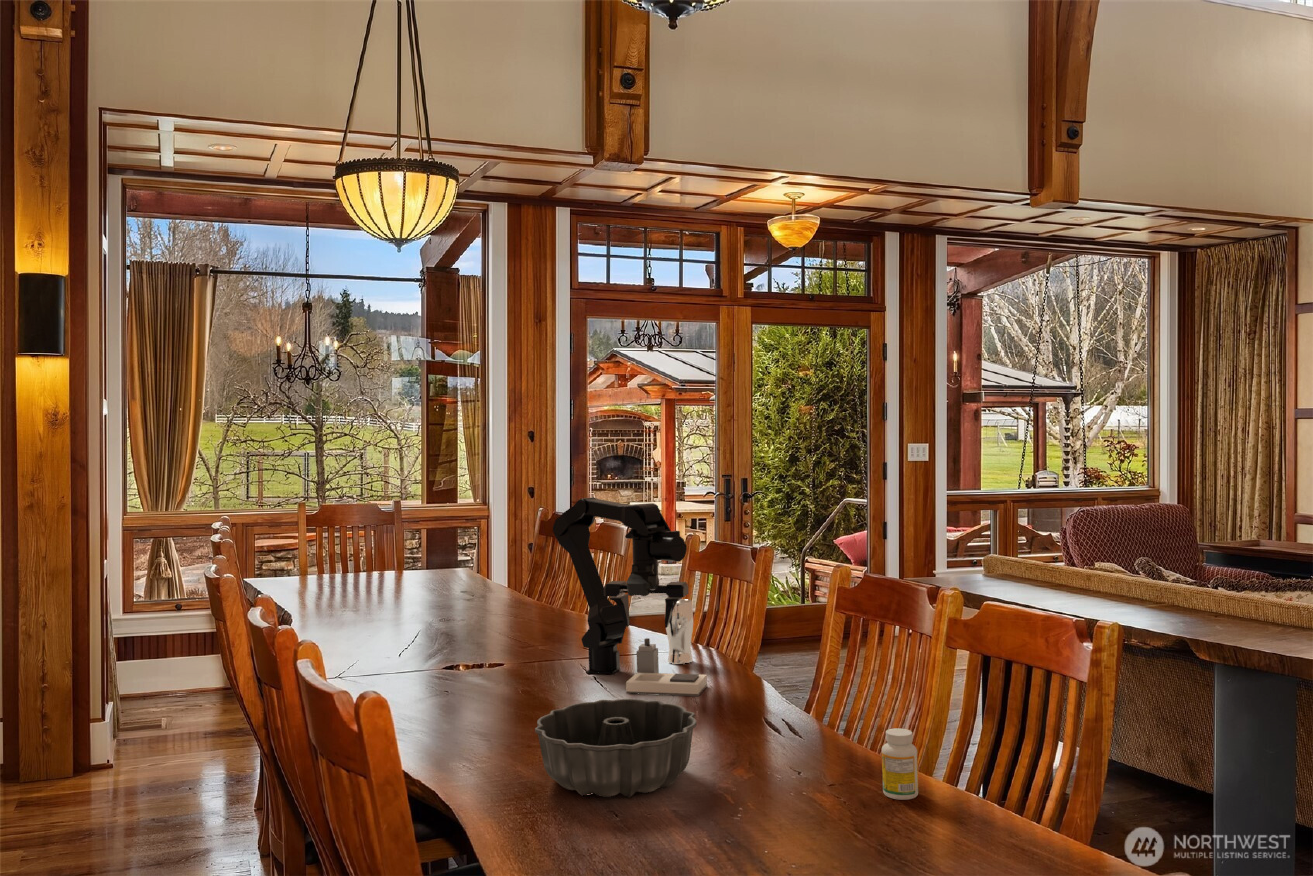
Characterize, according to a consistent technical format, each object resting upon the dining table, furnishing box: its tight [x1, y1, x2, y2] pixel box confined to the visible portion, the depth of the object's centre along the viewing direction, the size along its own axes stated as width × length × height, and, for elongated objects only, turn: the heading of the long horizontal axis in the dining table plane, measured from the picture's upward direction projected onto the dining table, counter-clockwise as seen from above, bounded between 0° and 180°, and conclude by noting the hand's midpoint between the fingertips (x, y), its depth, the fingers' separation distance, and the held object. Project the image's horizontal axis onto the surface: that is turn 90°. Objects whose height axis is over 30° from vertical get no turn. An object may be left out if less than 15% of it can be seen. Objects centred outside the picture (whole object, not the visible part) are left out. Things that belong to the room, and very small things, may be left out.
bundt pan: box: [534, 698, 697, 798], centre depth 168 cm, size 26×26×10 cm
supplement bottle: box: [881, 727, 919, 801], centre depth 158 cm, size 5×5×10 cm
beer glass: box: [664, 598, 694, 665], centre depth 253 cm, size 7×7×15 cm
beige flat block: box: [625, 672, 708, 697], centre depth 226 cm, size 16×9×3 cm, turn 75°
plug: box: [636, 637, 660, 673], centre depth 235 cm, size 4×4×10 cm
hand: (647, 626), depth 236 cm, fingers open, 9 cm apart
